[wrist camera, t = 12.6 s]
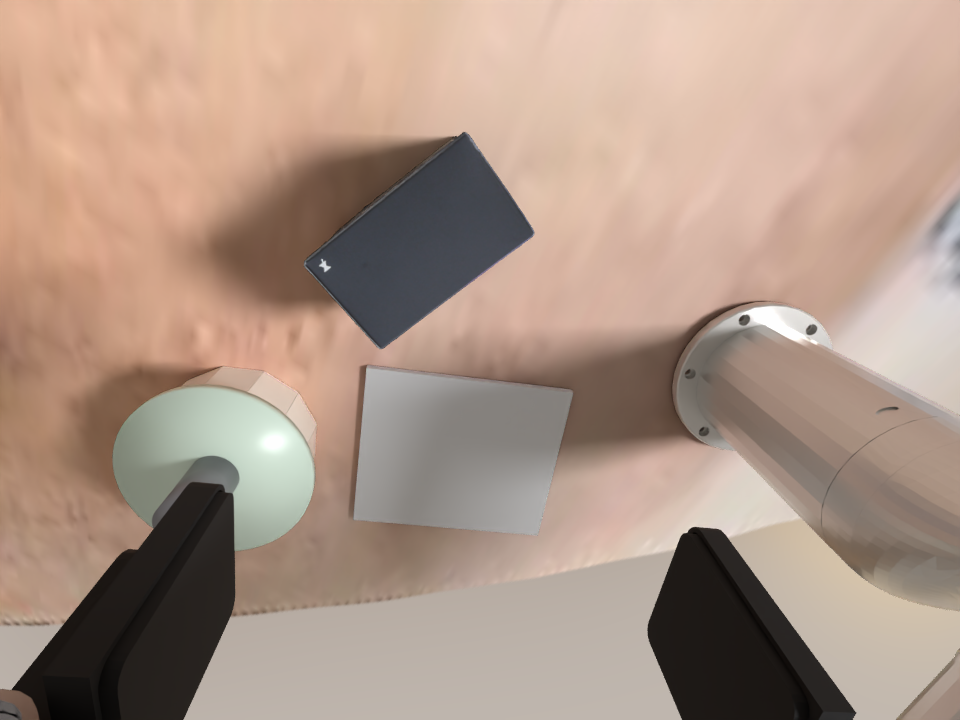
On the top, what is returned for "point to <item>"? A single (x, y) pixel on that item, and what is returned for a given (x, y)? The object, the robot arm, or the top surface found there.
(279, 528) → the lid
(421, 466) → the mat
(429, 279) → the small box
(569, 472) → the top surface
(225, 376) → the bowl
